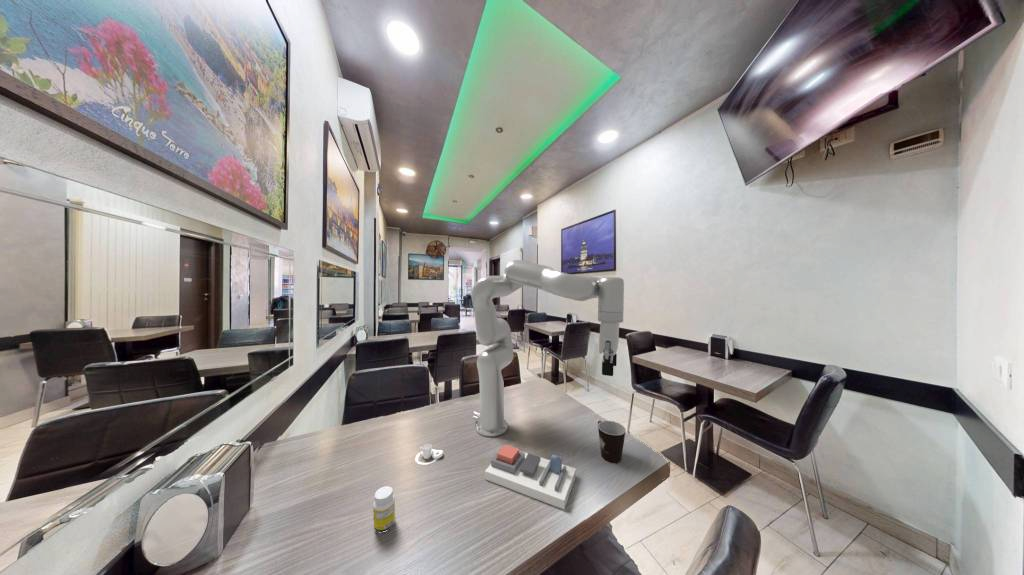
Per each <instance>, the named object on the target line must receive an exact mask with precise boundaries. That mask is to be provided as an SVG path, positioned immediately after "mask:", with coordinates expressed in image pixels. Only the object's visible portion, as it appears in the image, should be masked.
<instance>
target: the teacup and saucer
mask: <svg viewBox="0 0 1024 575" xmlns="http://www.w3.org/2000/svg"><path fill="white" fill-rule="evenodd" d="M418 451H419V452H418V453H417V454H416V455H415V457H414V462H415V463H416V464H418V465H420V466H428V465H431V464H433V463H436V461H438V460H439V459H440V458H442V457H443V455H444V450H443V449H435V448H433V445H432V444H431V443H425V444H424V445H422V446H420V447H419V448H418ZM420 454H421V455H422V457H423V459H424V460H429V459H430V458H431V457H432V459H433V460H431V461H429V462H421V461H420V460H419V458H420V456H421V455H420ZM418 460H419V461H418Z"/></svg>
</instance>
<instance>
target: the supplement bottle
mask: <svg viewBox="0 0 1024 575" xmlns="http://www.w3.org/2000/svg"><path fill="white" fill-rule="evenodd" d="M395 500H396V498H395V496H394V489H393V487H391V486H388V485H386V486H382V487H380V488H379V489H377V490H376V492H375V493H374V501H373V503H372V504H373V506H372V507H373V529H375V530H376V531H377V532H383V531H386V530H389V529H390V528H391V527H392V526H393V525H395V524H396V504H395V503H396V502H395ZM394 523H395V524H394ZM393 527H394V526H393ZM393 527H392V528H393ZM392 528H391V529H392ZM391 529H390V530H391ZM375 530H374V531H375ZM390 530H389V531H390ZM376 531H375V532H376ZM377 532H376V533H377Z"/></svg>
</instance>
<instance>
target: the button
mask: <svg viewBox="0 0 1024 575" xmlns="http://www.w3.org/2000/svg"><path fill="white" fill-rule="evenodd" d="M502 447H503V448H502ZM502 447H501V448H502V449H501V448H500V449H501V450H500V449H499V450H498V452H497V453H498V454H497V453H496V454H497V460H498V461H501V462H504V463H507V464H510V465H513V463H514V462H515V461H516V459H517V458H518V456H519V451H520V449H519V448H517V447H513V446H510V445H507V444H504V445H502Z"/></svg>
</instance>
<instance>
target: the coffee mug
mask: <svg viewBox="0 0 1024 575" xmlns="http://www.w3.org/2000/svg"><path fill="white" fill-rule="evenodd" d="M597 430H598V439H599V447H600V448H599V449H600V456H601V458H602V459H603V461H605V462H607V463H610V464H619V463H621V461H622V459H623V458H622V457H623V453H624V452H623V450H624V445H625V436H626V431H627V430H626V427H624V425H622V424H621V423H619V422H617V421H614V420H599V421H597Z"/></svg>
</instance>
